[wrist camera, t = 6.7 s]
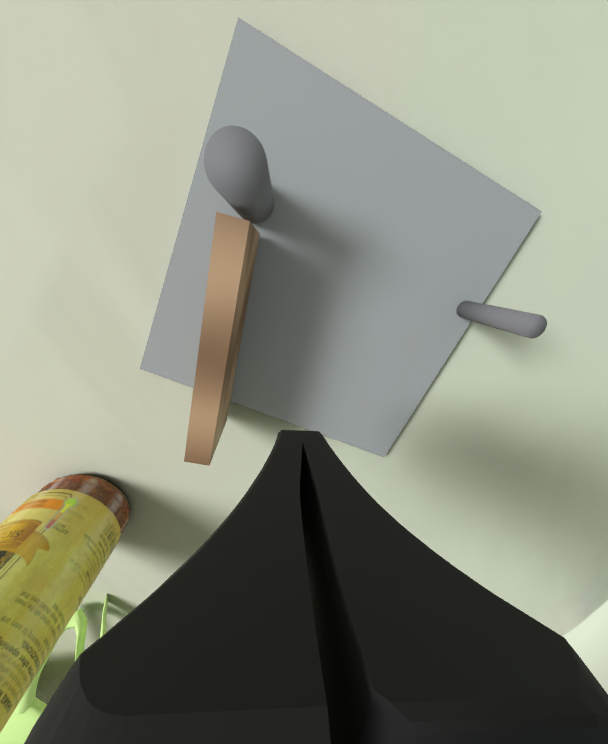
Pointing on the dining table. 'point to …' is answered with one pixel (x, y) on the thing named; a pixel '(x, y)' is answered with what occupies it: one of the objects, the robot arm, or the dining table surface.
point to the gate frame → (335, 250)
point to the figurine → (30, 706)
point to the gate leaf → (220, 333)
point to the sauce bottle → (50, 571)
